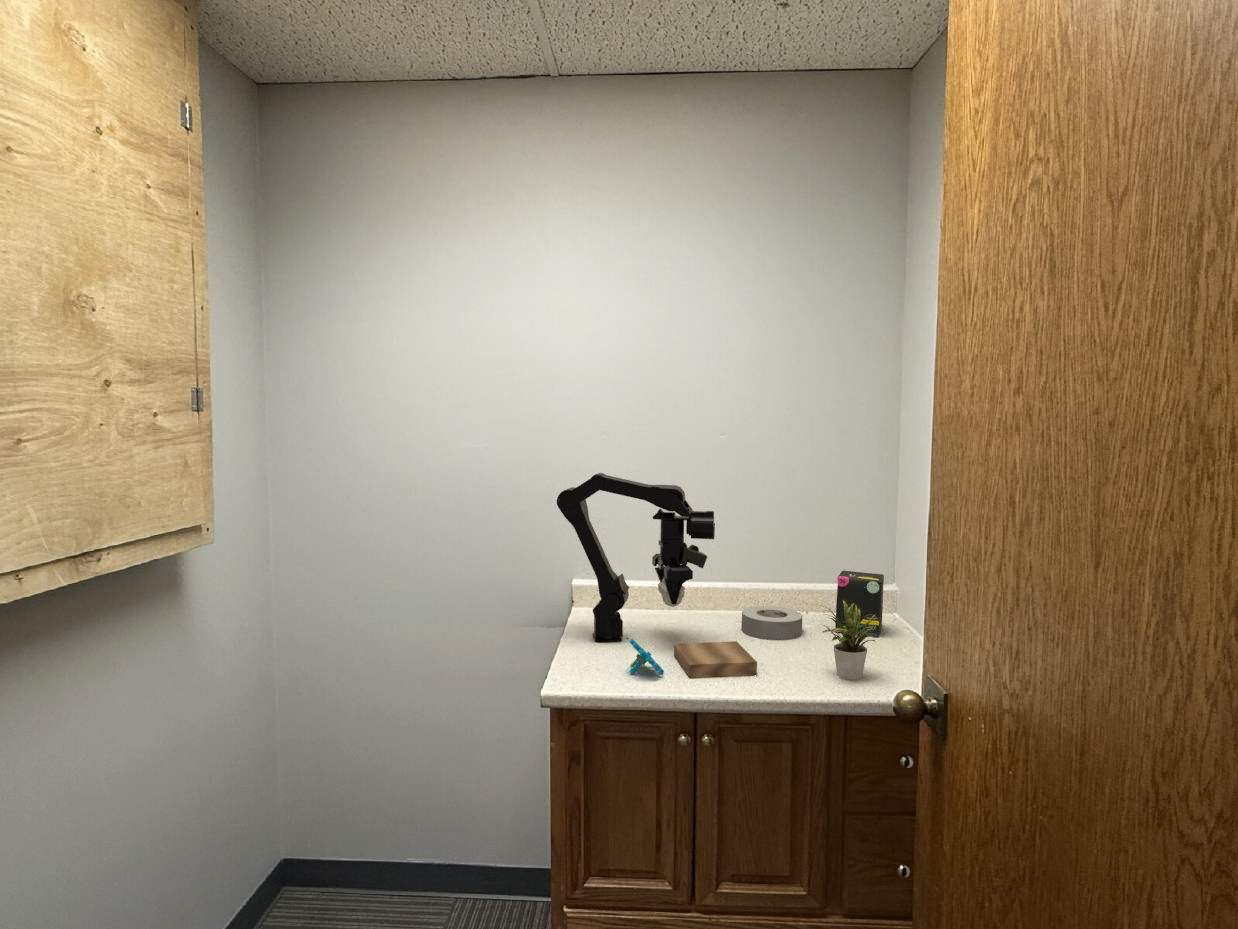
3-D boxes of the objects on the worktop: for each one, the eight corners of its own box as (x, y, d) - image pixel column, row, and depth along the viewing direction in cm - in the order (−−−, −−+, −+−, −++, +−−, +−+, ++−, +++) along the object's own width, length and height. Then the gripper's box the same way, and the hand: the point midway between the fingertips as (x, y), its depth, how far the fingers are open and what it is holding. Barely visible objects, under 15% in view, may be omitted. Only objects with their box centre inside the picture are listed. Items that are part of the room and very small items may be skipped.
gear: (669, 674, 169) (635, 640, 169) (649, 694, 168) (616, 661, 168) (662, 664, 180) (630, 632, 180) (643, 683, 179) (612, 651, 179)
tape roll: (810, 630, 209) (810, 611, 208) (789, 645, 196) (789, 624, 196) (755, 621, 217) (755, 602, 217) (731, 634, 204) (732, 615, 204)
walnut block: (689, 680, 171) (689, 664, 171) (673, 658, 186) (674, 643, 186) (756, 677, 173) (757, 662, 173) (736, 655, 188) (736, 641, 188)
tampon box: (834, 632, 206) (836, 576, 205) (839, 623, 214) (841, 569, 213) (879, 638, 202) (881, 581, 201) (882, 628, 210) (884, 573, 209)
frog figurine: (653, 604, 197) (653, 576, 197) (679, 602, 200) (680, 574, 199) (662, 610, 192) (662, 581, 191) (689, 608, 194) (689, 580, 193)
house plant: (804, 663, 181) (806, 592, 180) (864, 663, 182) (866, 592, 181) (823, 686, 167) (826, 609, 166) (888, 685, 168) (891, 608, 167)
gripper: (714, 544, 186) (713, 609, 187) (695, 531, 205) (693, 591, 206) (667, 544, 185) (666, 611, 186) (652, 531, 203) (651, 592, 204)
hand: (671, 601), depth 195 cm, fingers closed on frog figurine, 6 cm apart
